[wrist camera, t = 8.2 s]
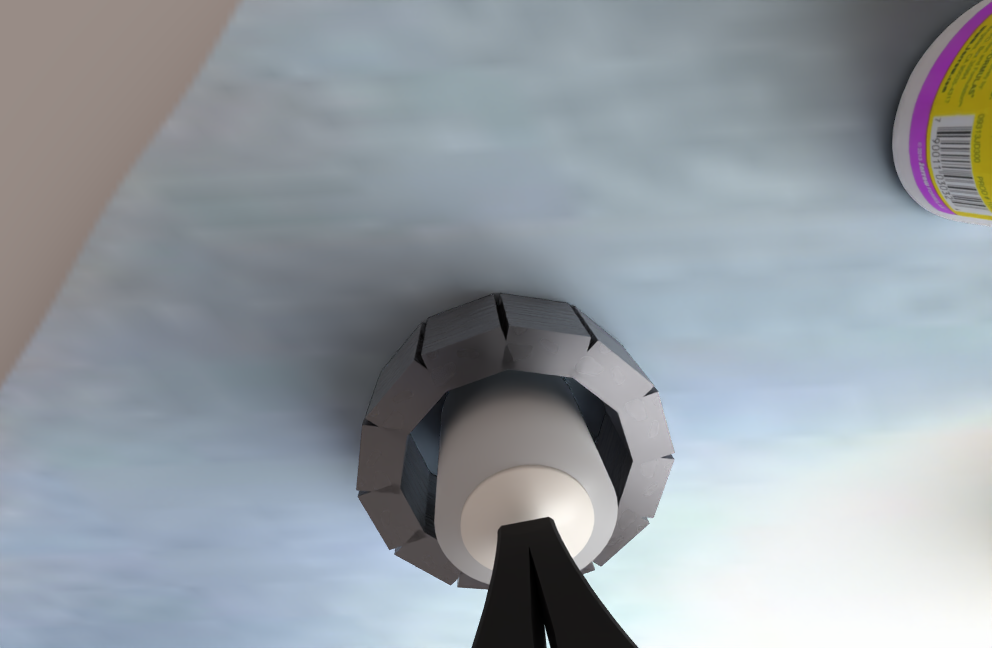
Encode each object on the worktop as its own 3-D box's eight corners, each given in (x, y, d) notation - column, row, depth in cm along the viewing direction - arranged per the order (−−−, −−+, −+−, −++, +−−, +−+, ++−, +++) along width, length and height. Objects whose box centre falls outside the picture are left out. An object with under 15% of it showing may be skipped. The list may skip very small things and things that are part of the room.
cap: (518, 496, 19) (538, 618, 14) (413, 433, 18) (396, 544, 13) (604, 407, 18) (658, 507, 13) (499, 331, 16) (515, 411, 12)
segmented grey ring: (520, 561, 20) (530, 629, 17) (322, 442, 17) (295, 500, 15) (690, 401, 18) (732, 449, 15) (491, 237, 15) (499, 259, 12)
